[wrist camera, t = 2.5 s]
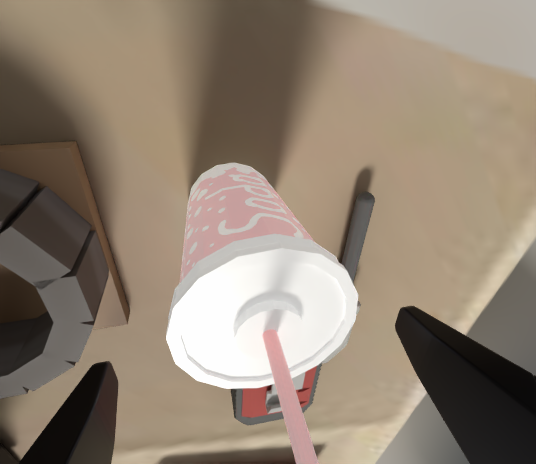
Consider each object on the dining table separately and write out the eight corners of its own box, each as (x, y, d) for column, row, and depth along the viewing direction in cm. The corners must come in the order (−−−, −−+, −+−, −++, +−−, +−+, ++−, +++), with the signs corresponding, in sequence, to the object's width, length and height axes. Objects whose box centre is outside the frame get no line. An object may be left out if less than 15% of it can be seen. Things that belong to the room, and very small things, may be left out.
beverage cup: (305, 176, 18) (542, 452, 6) (253, 261, 20) (354, 579, 8) (201, 126, 15) (268, 442, 3) (156, 229, 17) (103, 632, 6)
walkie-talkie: (322, 382, 30) (372, 182, 19) (341, 431, 26) (417, 217, 16) (228, 399, 28) (228, 187, 17) (235, 455, 24) (240, 228, 14)
